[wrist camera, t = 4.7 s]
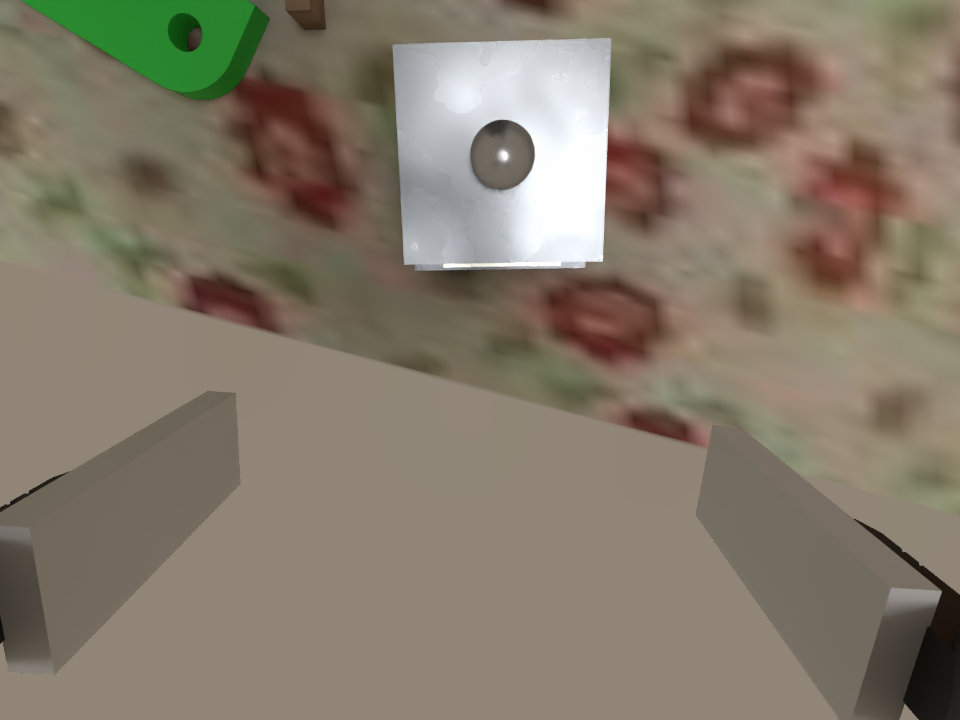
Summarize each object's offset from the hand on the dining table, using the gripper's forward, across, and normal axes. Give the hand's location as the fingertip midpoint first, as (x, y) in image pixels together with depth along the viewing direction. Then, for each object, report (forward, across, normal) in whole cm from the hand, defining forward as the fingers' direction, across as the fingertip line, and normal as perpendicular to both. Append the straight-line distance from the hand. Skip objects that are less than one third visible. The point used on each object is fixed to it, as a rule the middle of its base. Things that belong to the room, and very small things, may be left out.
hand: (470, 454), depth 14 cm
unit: (+18, 0, +9) cm, 20 cm away
